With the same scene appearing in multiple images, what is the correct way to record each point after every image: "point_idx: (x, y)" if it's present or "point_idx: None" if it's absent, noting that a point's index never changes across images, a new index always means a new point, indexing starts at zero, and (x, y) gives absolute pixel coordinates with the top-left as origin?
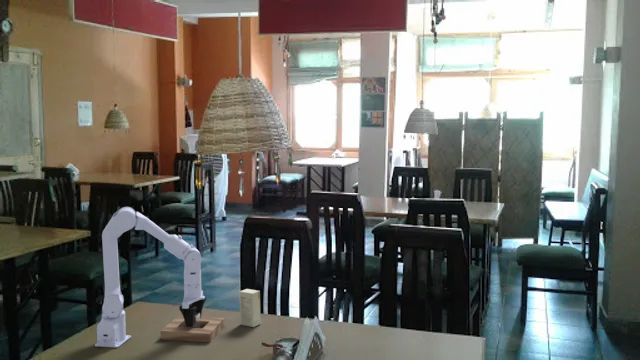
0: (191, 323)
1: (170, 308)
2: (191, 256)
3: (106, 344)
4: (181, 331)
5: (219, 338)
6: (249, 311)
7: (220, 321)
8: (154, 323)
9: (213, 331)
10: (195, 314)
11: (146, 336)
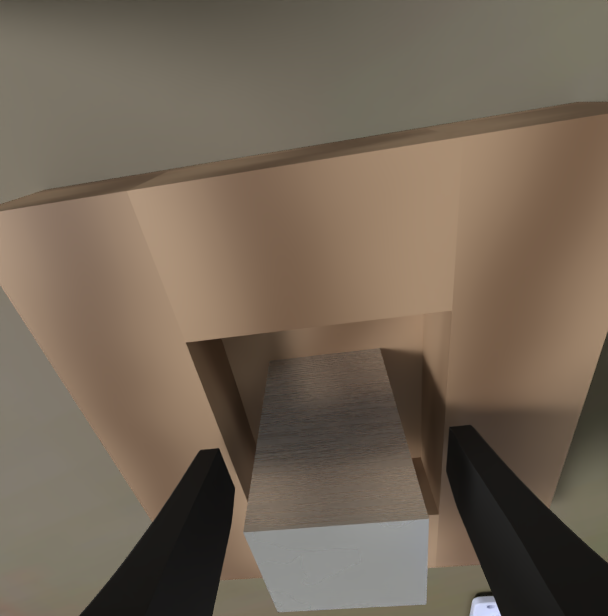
0: (496, 462)
1: (30, 609)
2: None
3: None
4: (553, 453)
5: (424, 44)
6: None
7: (109, 205)
8: (257, 589)
9: (486, 129)
10: (341, 546)
11: None
